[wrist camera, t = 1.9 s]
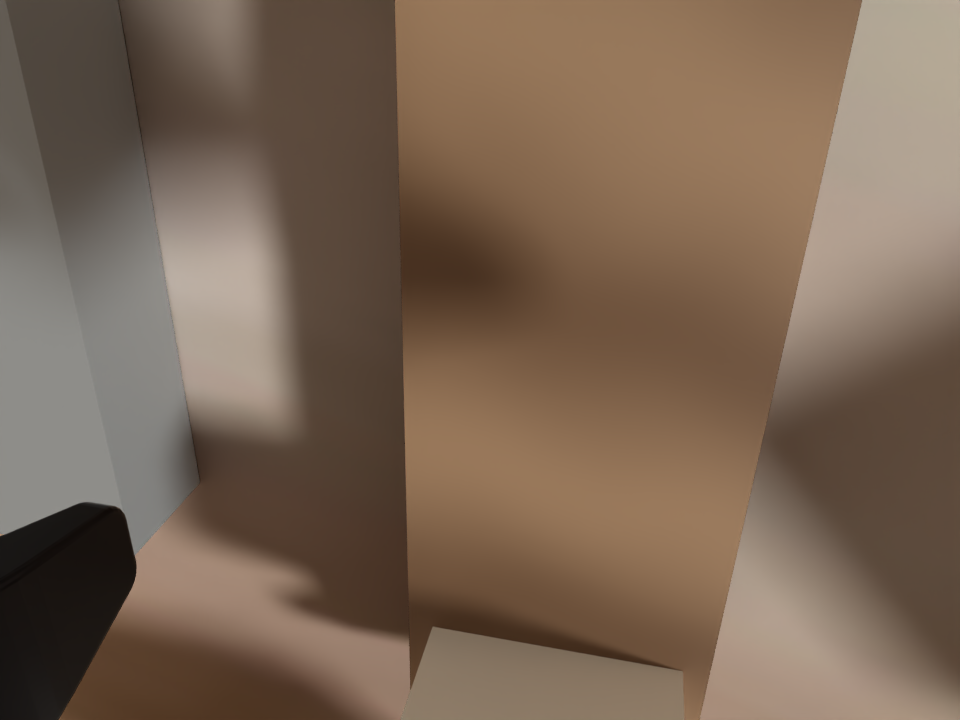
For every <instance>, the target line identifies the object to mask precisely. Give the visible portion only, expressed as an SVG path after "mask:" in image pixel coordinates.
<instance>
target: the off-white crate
mask: <svg viewBox="0 0 960 720" xmlns="http://www.w3.org/2000/svg"><path fill="white" fill-rule="evenodd" d="M400 720H684V693H683V671H679V670H673V669H668V668H662V667H656V666H651V665H645V664H640V663H634V662H628V661H623V660H617V659H612V658H606V657H600V656H595V655H589V654H583V653H578V652H572V651H567V650H561V649H555V648H550V647H544V646H539V645H533V644H527V643H522V642H516V641H511V640H505V639H499V638H494V637H488V636H482V635H477V634H471V633H466V632H460V631H454V630H449V629H443V628H438V627H432V630H431V633H430V636H429V639H428V641H427V644H426V647H425V650H424V653H423V656H422V659H421V662H420V665H419V667H418V670H417V673H416V676H415V679H414V682H413V685H412V688H411V691H410V693H409V696H408V699H407V702H406V705H405V708H404V711H403V714H402V717H401V719H400Z"/></svg>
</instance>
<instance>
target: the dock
mask: <svg viewBox="0 0 960 720" xmlns="http://www.w3.org/2000/svg"><path fill="white" fill-rule="evenodd" d="M199 483H200V480H199V474H198V468H197V462H196V457H195V451H194V445H193V439H192V433H191V427H190V421H189V415H188V410H187V404H186V398H185V392H184V386H183V380H182V374H181V368H180V363H179V357H178V351H177V345H176V339H175V333H174V327H173V322H172V316H171V310H170V304H169V298H168V292H167V286H166V280H165V275H164V269H163V263H162V257H161V251H160V245H159V239H158V233H157V228H156V222H155V216H154V210H153V204H152V198H151V192H150V186H149V181H148V175H147V169H146V163H145V157H144V151H143V145H142V140H141V134H140V128H139V122H138V116H137V110H136V104H135V98H134V93H133V87H132V81H131V75H130V69H129V63H128V57H127V51H126V46H125V40H124V34H123V28H122V22H121V16H120V10H119V5H118V0H0V534H7V533H9V532H12V531H14V530H16V529H19V528H21V527H23V526H26V525H28V524H31V523H33V522H35V521H38V520H40V519H42V518H45V517H47V516H49V515H52V514H54V513H57V512H59V511H61V510H64V509H66V508H68V507H71V506H73V505H75V504H78V503H81V502H94V503H100V504H106V505H112V506H116V507H118V508H120V509H121V510H122V511H123V513H124V514H125V516H126V520H127V524H128V528H129V533H130V537H131V542H132V546H133V551H134V555H136V553H137V552H138V551H139V550H140V549H141V548H142V547H143V546H144V545H145V543H146V542H147V541H148V540H149V539H150V538H151V537H152V536H153V535H154V533H155V532H156V531H157V530H158V529H159V528H160V527H161V526H162V525H163V523H164V522H165V521H166V520H167V519H168V518H169V517H170V516H171V514H172V513H173V512H174V511H175V510H176V509H177V508H178V507H179V506H180V504H181V503H182V502H183V501H184V500H185V499H186V498H187V497H188V496H189V494H190V493H191V492H192V491H193V490H194V489H195V488H196V487H197V486H198V484H199Z"/></svg>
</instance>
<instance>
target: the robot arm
mask: <svg viewBox="0 0 960 720" xmlns="http://www.w3.org/2000/svg"><path fill="white" fill-rule="evenodd" d="M135 576H136V559H135V555H134V551H133V546H132V542H131V537H130V533H129V528H128V524H127V520H126V516H125V514H124V513H123V511H122V510H121V509H120V508H118V507H116V506H112V505H106V504H100V503H94V502H81V503H78V504H75V505H73V506H71V507H68V508H66V509H64V510H61V511H59V512H57V513H54V514H52V515H49V516H47V517H45V518H42V519H40V520H38V521H35V522H33V523H31V524H28V525H26V526H23V527H21V528H19V529H16V530H14V531H12V532H9V533H7V534H5V535H2V536H0V720H58V719H59V718H60V716H61V715H62V713H63V711H64V709H65V708H66V706H67V704H68V703H69V701H70V699H71V698H72V696H73V694H74V692H75V691H76V689H77V687H78V685H79V683H80V681H81V680H82V678H83V676H84V674H85V672H86V671H87V669H88V667H89V665H90V663H91V661H92V660H93V658H94V656H95V654H96V652H97V651H98V649H99V647H100V645H101V643H102V641H103V640H104V638H105V636H106V634H107V632H108V630H109V629H110V627H111V625H112V623H113V621H114V620H115V618H116V616H117V614H118V612H119V610H120V609H121V607H122V605H123V603H124V601H125V600H126V598H127V596H128V594H129V592H130V590H131V588H132V586H133V583H134V581H135Z"/></svg>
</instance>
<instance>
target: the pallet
mask: <svg viewBox="0 0 960 720" xmlns="http://www.w3.org/2000/svg"><path fill="white" fill-rule="evenodd" d="M861 3H862V0H395V30H396V74H397V118H398V162H399V206H400V250H401V294H402V338H403V382H404V426H405V470H406V514H407V558H408V602H409V646H410V690H411V688H412V685H413V682H414V679H415V676H416V673H417V670H418V667H419V665H420V662H421V659H422V656H423V653H424V650H425V647H426V644H427V641H428V639H429V636H430V633H431V630H432V627H438V628H443V629H449V630H454V631H460V632H466V633H471V634H477V635H482V636H488V637H494V638H499V639H505V640H511V641H516V642H522V643H527V644H533V645H539V646H544V647H550V648H555V649H561V650H567V651H572V652H578V653H583V654H589V655H595V656H600V657H606V658H612V659H617V660H623V661H628V662H634V663H640V664H645V665H651V666H656V667H662V668H668V669H673V670H679V671H683V693H684V720H699V719H700V715H701V710H702V706H703V701H704V697H705V692H706V688H707V684H708V679H709V675H710V670H711V666H712V662H713V657H714V653H715V648H716V644H717V639H718V635H719V631H720V626H721V622H722V617H723V613H724V608H725V604H726V600H727V595H728V591H729V586H730V582H731V578H732V573H733V569H734V564H735V560H736V555H737V551H738V547H739V542H740V538H741V533H742V529H743V525H744V520H745V516H746V511H747V507H748V502H749V498H750V494H751V489H752V485H753V480H754V476H755V471H756V467H757V463H758V458H759V454H760V449H761V445H762V441H763V436H764V432H765V427H766V423H767V418H768V414H769V410H770V405H771V401H772V396H773V392H774V388H775V383H776V379H777V374H778V370H779V365H780V361H781V357H782V352H783V348H784V343H785V339H786V334H787V330H788V326H789V321H790V317H791V312H792V308H793V304H794V299H795V295H796V290H797V286H798V281H799V277H800V273H801V268H802V264H803V259H804V255H805V251H806V246H807V242H808V237H809V233H810V228H811V224H812V220H813V215H814V211H815V206H816V202H817V197H818V193H819V189H820V184H821V180H822V175H823V171H824V167H825V162H826V158H827V153H828V149H829V144H830V140H831V136H832V131H833V127H834V122H835V118H836V114H837V109H838V105H839V100H840V96H841V91H842V87H843V83H844V78H845V74H846V69H847V65H848V60H849V56H850V52H851V47H852V43H853V38H854V34H855V30H856V25H857V21H858V16H859V12H860V7H861Z"/></svg>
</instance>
